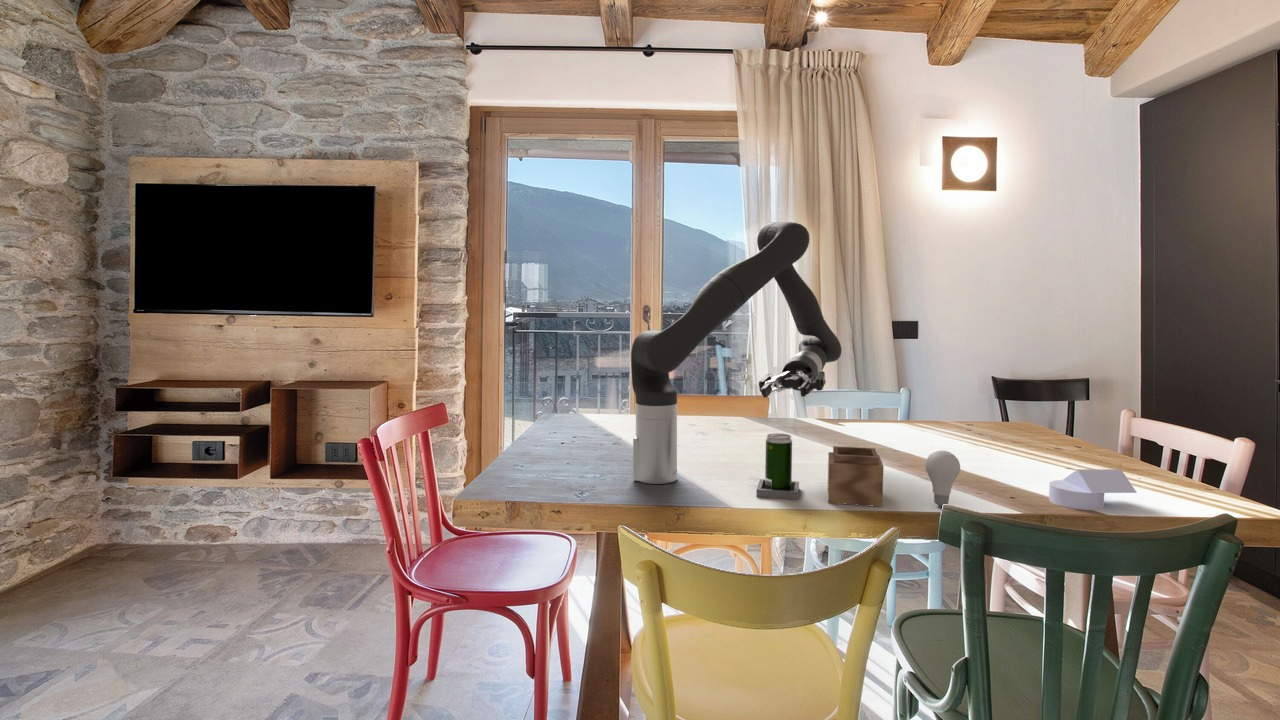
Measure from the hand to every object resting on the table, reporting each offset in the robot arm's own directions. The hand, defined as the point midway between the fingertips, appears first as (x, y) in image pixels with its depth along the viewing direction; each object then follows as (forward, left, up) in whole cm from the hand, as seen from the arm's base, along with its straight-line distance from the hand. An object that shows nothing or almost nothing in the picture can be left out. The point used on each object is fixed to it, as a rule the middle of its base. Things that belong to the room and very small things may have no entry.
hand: (783, 393), depth 145 cm
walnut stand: (+15, -9, -20) cm, 26 cm away
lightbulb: (+31, -11, -20) cm, 38 cm away
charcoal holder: (0, -9, -20) cm, 22 cm away
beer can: (0, -9, -20) cm, 22 cm away
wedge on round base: (+59, -1, -20) cm, 62 cm away
